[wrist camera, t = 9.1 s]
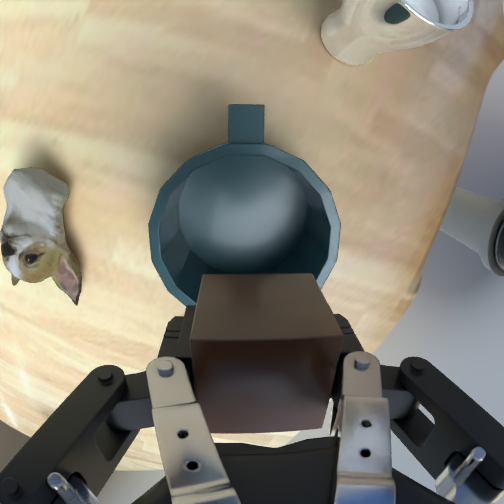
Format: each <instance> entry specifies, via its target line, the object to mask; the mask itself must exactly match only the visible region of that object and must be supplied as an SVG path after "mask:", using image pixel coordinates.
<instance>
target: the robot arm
mask: <svg viewBox="0 0 504 504" xmlns="http://www.w3.org/2000/svg"><path fill="white" fill-rule="evenodd" d="M494 258H495V261H496V263H497V265H498V266H499V267H500V268H502V269H503V270H504V219H503V221H502V222H501V224H500V226H499V228H498V230H497V233H496V236H495V241H494ZM329 307H330V306H329ZM195 309H196V305H187V307H186V311H185V315H184V317H183V316H175V317H174V318H173V319H172V320H171V321H170V322H168V325H167V328H166V332H165V334H164V338H163V341H162V344H161V347H160V351H159V354H158V357H157V359H154V360H153V361H151V362H150V363H149V364H148V366H147V368H146V371H144V372H141V373H136V374H129V375H125V374H124V372H123V370H122V369H121V368H119V367H117V366H114V365H103V366H100V367H97V368H95V369H94V370H93V371H91V372H90V373H89V375H88V376H87V377H86V378H85V379H84V380H83V381H82V382H81V383H80V384H79V385H78V386H77V387H76V389H75V390H74V391H73V392H72V393H71V394H70V395H69V396H68V397H67V398H66V399H65V400H64V402H63V403H62V404H61V405H60V406H59V407H58V408H57V409H56V410H55V411H54V413H53V414H52V415H51V416H50V417H49V418H48V419H47V420H46V421H45V423H44V424H43V425H42V426H41V427H40V428H39V429H38V430H37V432H36V433H35V434H34V435H33V436H32V437H31V438H30V440H29V441H28V442H27V443H26V444H25V445H24V446H23V447H22V449H21V450H20V451H19V452H18V453H17V454H16V455H15V457H14V458H13V459H12V460H11V461H10V462H9V464H8V465H7V466H6V467H5V468H4V469H3V471H2V472H1V473H0V503H1V504H100V502H99V500H98V499H97V498H96V497H97V496H98V494H99V493H100V491H101V490H102V488H103V487H104V485H105V483H106V482H107V480H108V479H109V477H110V476H111V474H112V473H113V471H114V470H115V468H116V467H117V465H118V463H119V462H120V460H121V459H122V457H123V456H124V454H125V453H126V451H127V450H128V448H129V446H130V445H131V443H132V442H133V440H134V439H135V437H136V436H137V434H138V433H139V431H140V429H142V428H148V427H154V426H155V431H156V436H157V441H158V445H159V450H160V454H161V459H162V463H163V467H164V471H165V476H164V477H163V478H162V479H161V480H160V481H158V482H157V483H156V484H155V485H154V486H153V487H151V488H150V489H149V490H148V491H147V492H145V493H144V494H143V495H142V496H140V497H139V498H138V499H137V500H135V501H134V502H133V503H132V504H494V503H495V502H496V501H497V500H498V499H499V498H500V497H501V496H503V495H504V427H503V426H502V425H501V424H500V423H499V422H497V420H495V419H494V418H493V417H492V416H491V415H490V414H489V413H488V412H486V411H485V410H484V409H483V408H482V407H481V406H480V405H478V404H477V403H476V402H475V401H474V400H473V399H472V398H470V397H469V396H468V395H467V394H466V393H465V392H463V391H462V390H461V389H460V388H459V387H458V386H457V385H455V384H454V383H453V382H452V381H451V380H450V379H448V378H447V377H446V376H445V375H444V374H443V373H441V372H440V371H439V370H438V369H437V368H436V367H434V366H433V365H432V364H431V363H430V362H428V361H427V360H425V359H423V358H420V357H408V358H406V359H404V360H403V361H402V362H401V365H400V367H394V366H385V365H380V362H379V360H378V359H377V358H376V357H375V356H374V355H372V354H370V353H368V352H365V351H364V350H363V348H362V346H361V344H360V342H359V340H358V338H357V337H356V335H355V334H354V331H353V329H352V328H351V326H350V324H349V322H348V320H347V319H346V318H344V317H343V316H342V315H340V314H333V315H334V317H335V319H336V321H337V323H338V325H339V327H340V330H341V332H342V334H343V341H342V346H341V351H340V355H339V360H338V365H337V369H336V374H335V378H334V382H333V387H332V391H331V395H330V398H332V400H333V406H332V410H331V417H330V426H329V433H328V437H322V438H313V439H306V440H303V441H299V442H296V443H293V444H289V445H286V446H282V447H278V448H270V447H263V446H257V445H251V444H245V443H214V441H213V439H212V436H211V434H210V431H209V428H208V425H207V423H206V420H205V417H204V415H203V412H202V409H201V406H200V404H199V401H197V396H196V389H195V381H194V374H193V366H192V358H191V350H190V341H189V340H190V334H191V329H192V324H193V319H194V314H195ZM330 309H331V308H330ZM331 311H332V310H331ZM332 313H333V312H332ZM419 404H421V405H422V406H423V407H425V409H427V411H428V412H429V413H431V414H432V416H433V417H434V420H435V425H434V424H433V423H432V422H431V421H430V420H429V419H428V418H427V417H426V416H425V415H424V414H423V413H422V412H421V411H420V410H419V409H418V407H419ZM390 429H391V430H392V431H393V433H394V434H395V435H396V436H397V437H398V438H399V439H400V440H401V442H402V443H403V444H404V445H405V446H406V447H407V449H408V450H409V451H410V452H411V453H412V454H413V455H414V457H415V458H416V459H417V460H418V461H419V462H420V463H421V464H422V466H423V467H424V468H425V469H426V470H427V471H428V472H429V474H430V475H431V476H432V477H433V478H434V479H435V480H436V481H435V488H436V490H437V492H436V493H435V492H433V491H432V490H430V489H428V488H426V487H424V486H422V485H421V484H419V483H417V482H416V481H414V480H412V479H410V478H409V477H407V476H406V475H404V474H402V473H400V472H399V471H397V470H396V469H394V468H392V459H391V430H390Z"/></svg>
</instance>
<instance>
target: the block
mask: <svg viewBox="0 0 504 504" xmlns="http://www.w3.org/2000/svg"><path fill="white" fill-rule="evenodd" d="M189 341H190V350H191V358H192V366H193V374H194V381H195V389H196V396H197V401H199V404H200V406H201V409H202V412H203V415H204V417H205V420H206V423H207V425H208V428H209V431H210V433H268V432H285V431H298V430H309V429H318V428H322V426H323V422H324V419H325V415H326V410H327V407H328V403H329V399H330V395H331V391H332V387H333V382H334V378H335V374H336V369H337V365H338V360H339V355H340V351H341V346H342V341H343V334H342V332H341V330H340V327H339V325H338V323H337V321H336V319H335V317H334V315H333V313H332V311H331V309H330V307H329V305H328V303H327V301H326V300H325V298H324V296H323V294H322V292H321V290H320V288H319V286H318V284H317V282H316V280H315V278H314V276H313V274H312V273H304V274H203V276H202V281H201V285H200V290H199V295H198V300H197V305H196V309H195V314H194V319H193V324H192V329H191V334H190V340H189Z"/></svg>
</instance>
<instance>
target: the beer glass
mask: <svg viewBox="0 0 504 504" xmlns="http://www.w3.org/2000/svg"><path fill="white" fill-rule="evenodd" d="M472 15H473V0H343V1H342V4H341V7H340V9H339V10H338V11H336V12H334V13H332V14H330V15H329V16H328V17H327V18H326V19H325V20H324V22H323V23H322V26H321V39H322V42H323V44H324V46H325V48H326V49H327V51H328V52H329V53H330V54H331V55H332V56H333V57H334V58H336V59H337V60H339V61H341V62H343V63H345V64H349V65H364V64H367V63H369V62H371V61H372V60H374V59H375V58H376V57H377V55H378V54H379V53H380V52H388V51H400V50H406V49H413V48H416V47H420V46H423V45H426V44H429V43H431V42H433V41H436V40H438V39H440V38H442V37H444V36H446V35H448V34H450V33H452V32H454V31H456V30H459V29H462V28H464V27H465V26H466V25H467V24H468V23H469V22H470V20H471V18H472Z"/></svg>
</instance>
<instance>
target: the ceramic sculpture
mask: <svg viewBox="0 0 504 504" xmlns="http://www.w3.org/2000/svg"><path fill="white" fill-rule="evenodd" d="M4 195H5V198H6V202H7V210H6V214H5V217H4V222H3V226H2V229H1V231H0V242H1V252H2V256H3V262H4V264H5V266H6V268H7V269H8V271H9V272H10V273H11V274H12V284H13V286H14V285H16V284H17V283H18V281H19V280H23V281H26V282H29V283H37V282H41V281H43V280H44V279H46V278H48V277H52V278H53V280H54V281H55V283H56V285H57V286H58V287H59V288H60V289H61V290H62V291H64V292H65V293H66V294H67V295H68V296H69V297H70V298H71V299H72V301H73V302H74V304H75V305H76V306H77V305H78V300H79V296H80V293H81V286H82V284H81V281H82V276H81V271H80V267H79V264H78V262H77V260H76V258H75V256H74V255H73V253H72V252H71V250H70V248H69V246H68V245H67V244H66V240H65V231H64V224H63V213H62V210H63V206H64V204H65V202H66V200H67V198H68V195H69V187H68V185H67V184H66V183H65V182H63V181H61V180H59V179H58V178H56V177H55V176H53V175H51V174H48V173H47V172H45V171H44V170H42V169H40V168H32V167H30V168H21V169H14V170H13V171H12V173H11V174H10V176H9V177H8V179H7V181H6V183H5V185H4Z"/></svg>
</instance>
